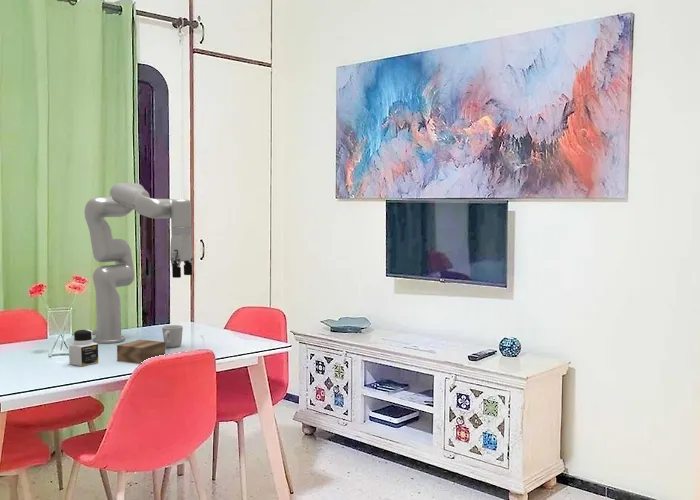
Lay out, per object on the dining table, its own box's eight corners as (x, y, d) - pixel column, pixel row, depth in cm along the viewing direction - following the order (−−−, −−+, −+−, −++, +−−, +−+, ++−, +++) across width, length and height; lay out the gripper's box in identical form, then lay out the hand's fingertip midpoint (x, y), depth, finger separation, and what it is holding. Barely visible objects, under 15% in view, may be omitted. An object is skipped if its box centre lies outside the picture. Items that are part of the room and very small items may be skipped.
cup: (174, 350, 273) (174, 329, 272) (155, 349, 274) (155, 329, 274) (186, 344, 283) (186, 325, 283) (168, 344, 285) (167, 324, 284)
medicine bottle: (81, 366, 245) (80, 332, 244) (69, 364, 249) (68, 330, 248) (98, 362, 251) (98, 329, 250) (86, 360, 255) (85, 327, 254)
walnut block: (117, 361, 254) (116, 345, 254) (140, 355, 265) (140, 339, 265) (143, 364, 249) (142, 347, 249) (165, 358, 260) (165, 342, 260)
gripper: (182, 230, 276) (183, 273, 278) (161, 232, 260) (162, 278, 261) (200, 230, 275) (200, 274, 276) (180, 232, 258) (181, 278, 259)
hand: (182, 276), depth 268 cm, fingers open, 9 cm apart
